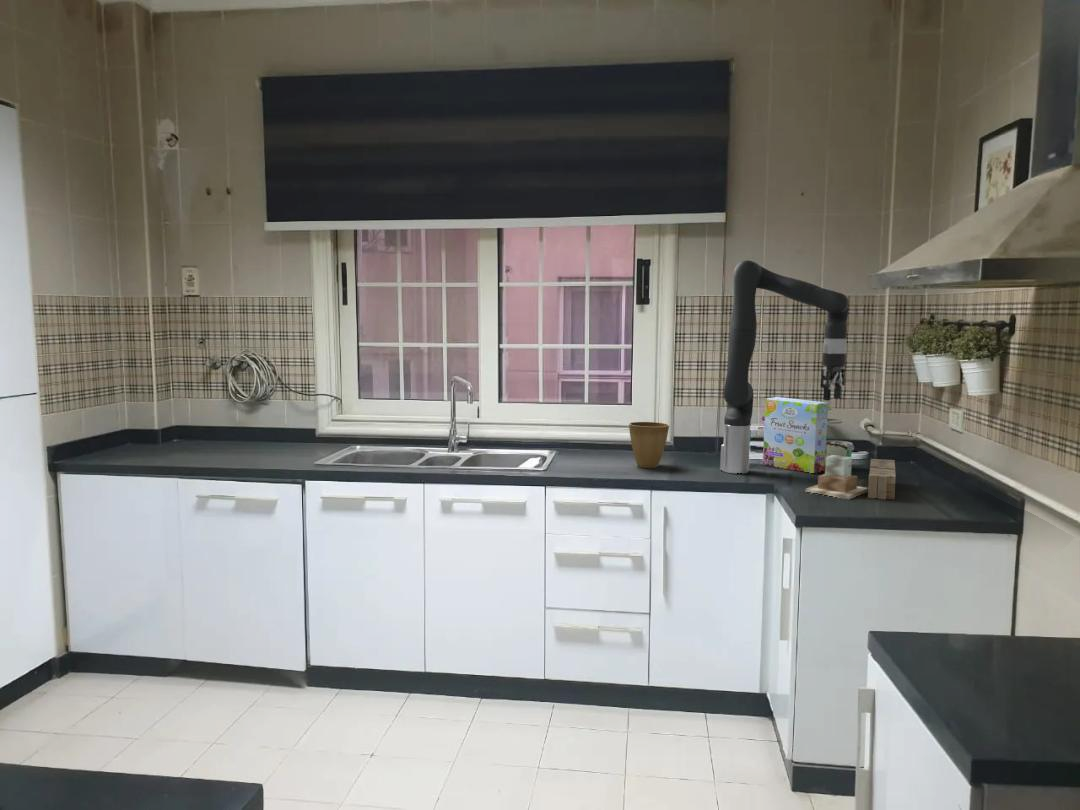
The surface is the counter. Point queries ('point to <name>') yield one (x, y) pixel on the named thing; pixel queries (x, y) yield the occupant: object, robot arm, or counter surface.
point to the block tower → (882, 479)
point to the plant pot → (648, 442)
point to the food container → (839, 448)
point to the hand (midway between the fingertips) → (832, 399)
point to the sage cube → (838, 466)
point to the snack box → (795, 434)
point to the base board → (838, 494)
